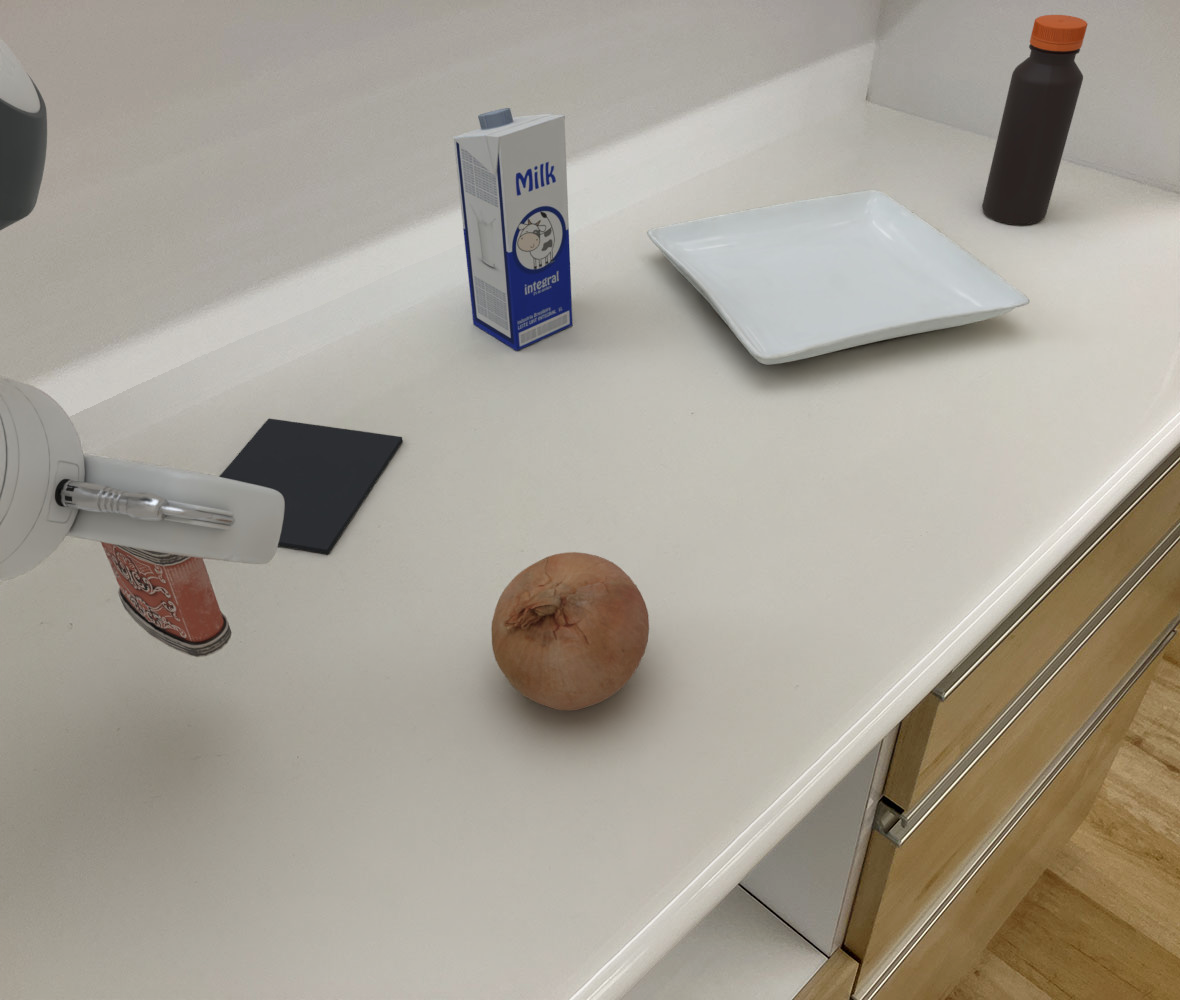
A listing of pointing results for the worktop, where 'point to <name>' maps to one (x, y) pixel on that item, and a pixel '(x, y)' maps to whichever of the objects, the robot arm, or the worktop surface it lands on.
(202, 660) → the worktop surface
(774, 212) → the square plate
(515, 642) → the onion
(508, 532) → the worktop surface
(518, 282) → the milk carton
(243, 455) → the mat
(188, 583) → the lighter
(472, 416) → the worktop surface
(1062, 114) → the bottle
